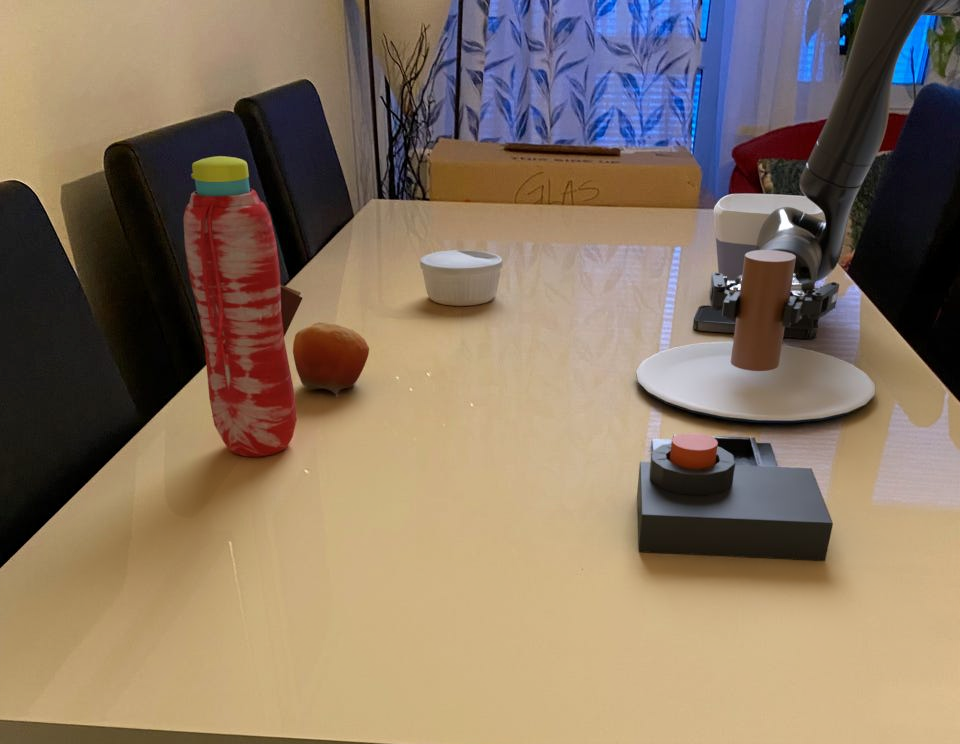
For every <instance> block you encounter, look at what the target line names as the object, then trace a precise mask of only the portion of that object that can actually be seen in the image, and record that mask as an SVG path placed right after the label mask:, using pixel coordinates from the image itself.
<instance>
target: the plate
mask: <svg viewBox="0 0 960 744" xmlns="http://www.w3.org/2000/svg"><path fill="white" fill-rule="evenodd" d="M732 347H733V341H711V342H709V341H708V342H698V343H697V342H696V343H692V344H686V345H680V346H674V347H671V348H668V349H665V350H661V351H659V352H656V353H654V354H652V355H650V356H649V357H647V358H646V359H644V360H643V361H641V362H640V364H639V366H638V367H637V369H636V371H635V375H636V380H637V384H638V385H639V386H640V387H641V388H642V389H643V390H644V391H645V392H646V393H647V394H648V395H649V396H651V397H653V398H656V399H657V400H659V401H661V402H662V403H664V404H666V405H668V406H671V407H674V408H677V409H681V410H682V411H683V410H684V411H686V412H690V413H692V414H697V415H702V416H706V417H711V418H716V419H721V420H728V421H737V422H746V423H747V422H748V423H756V424H757V423H759V424H760V423H761V424H795V423H806V422H807V423H808V422H818V421H824V420H829V419H833V418H837V417H842V416H846V415H848V414H850V413H853V412H855V411H857V410H859V409H861V408H864V407H866V406H867V405H868V403H869V402H870V401H871V400H872V399H873V398H874V397H875V395H876V394H875V390H876V389H875V387H876V386H875V383H874V382H873V380H872V379H871V377H869V375H868V373H866V372H865V371H863V369H862V370H861V368H859V367H857V366H855V365H854V364H852V363H850V362H847V361H845V360H842V359H840V358H837V357H835V356H832V355H830V354H827V353H823V352H819V351H816V350H811V349H809V348H803V347H797V346H790V345H785V344H782V348H781V354H780V360H779V366H778V367H777V368H775V369H773V370H768V371H750V370H744V369H740V368H737V367H735V366H733V365H732V364H731V355H732Z"/></svg>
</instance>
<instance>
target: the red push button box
mask: <svg viewBox="0 0 960 744" xmlns="http://www.w3.org/2000/svg"><path fill="white" fill-rule="evenodd" d="M670 452H671V443H670V444H665V445H661V446H660V447H658V448H657V449H655V450H654V451H652V450H651V453H650V461H639V466H638V467H639V468H638V477H637V479H638V481H637V492H636V507H637V508H636V510H637V513H636V514H637V540H638V541H637V543H638V544H637V545H638V546H637V547H638V552H639V553H655V554H657V553H659V554H675V555H678V554H680V555H696V556H698V555H699V556H719V557H739V558H757V559H758V558H759V559H760V558H761V559H778V560H779V559H781V560H782V559H783V560H801V561H821V562H823V561H826V558H827V554H828V548H829V544H830V540H831V534H832V530H833V526H834V522H833V519H832V518H831V515H830V512H829V510H828V507H827V503H826V502H825V499H824V497H823V494H822V491H821V489H820V487H819V484H818V482H817V479H816V475H815V474H814V472H813V471H814V470H813V468H812V467H792V466H791V467H788V466H778V467H766V466H740V465H735V460H734V456H733V454H731V453H729V452H728V451H726V450H724V449H723V448H721V447H717V455H716V463H715V465H714V466H712V467H707V468H702V469H700V468H686V467H682V466H678V465H675V464H673V463H672V462H670Z"/></svg>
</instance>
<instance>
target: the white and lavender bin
mask: <svg viewBox="0 0 960 744" xmlns="http://www.w3.org/2000/svg"><path fill="white" fill-rule="evenodd" d="M781 207H791V208H795V209H797V210H800V211H802V212H803V214H804V213H807V214H809V215H812V216H814V217H816V218H819V219H821V220H823V221H826V220H825V215H824V213H823V211H822V210H821V209H820V208H819V207H818V206H817V205H816V204H814V203H813V202H812V201H811V200H809V199H808V198H807V197H806V196H805V195H793V194H775V193H774V194H773V193H730V194H727V195H724V196H723V197H721V198H720V199H719V200H717V202H716V203H715V205H714V208H713V211H712V212H713V222H714V223H713V225H714V235H715V246H716V247H715V248H716V259H717V270H718V271H717V272H719V273H721V274H723V277H724V276H726V277H728V279H727V281H735V280H736V278H737V277H738V276H740V275H742V273H743V265H744V258H745V254H746V253H747V252H751V251H756V247H757V240H758V235H759V232H760V230H761V228H762V225H763V223H764V222H765V220H766V219H767V217H768V216H769V215H770V214H771V213H772V212H773V211H775V210H776V209H778V208H781Z"/></svg>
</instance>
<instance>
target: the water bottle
mask: <svg viewBox="0 0 960 744" xmlns="http://www.w3.org/2000/svg"><path fill="white" fill-rule="evenodd" d="M191 169H192V173H191V174H190V176H191V179H193V180H194V183H195V189H196V190H195V191H193V192H192V193H191V194H190V198H189V202H188V204H187V205H186V206H185V210H184V214H183V235H184V249H185V254H186V261H187V268H188V274H189V281H190V284H191V289H192V292H193V296H194V299H195V304H196V308H197V312H198V315H199V321H200V327H201V333H202V339H203V344H204V352H205V364H206V377H207V387H208V396H209V397H208V398H209V404H210V409H211V414H212V420H213V425H214V427H215V429H216V431H217V433H218V435H219V436H220V438H221V440H222V442H223V443H224V445H225V446H226V448H227V449H228V450H229V451H230V452H231V453H232V454H236V455H238V456H243V457H251V458H254V457H255V458H259V457H260V458H261V457H265V456H272V455H275V454H277V453H279V452H281V451H283V450H285V449H287V448H288V446H289V444H290V443H291V440H292V439H293V436H294V434H295V433H294V432H295V428H296V424H297V420H298V417H297V407H296V395H295V389H294V384H293V378H292V374H291V373H292V372H291V368H290V361H289V357H288V352H287V347H286V341H285V336H286V335H287V332H288V330H289V328H290V326H291V324H292V322H293V319H294V318H295V315H296V313H297V311H298V309H299V307H300V305H301V303H302V301H303V297H302V296H300V295H301V291H298V290H296V289H293V288H290V287H288V286H285V285H283V284H281V270H280V261H279V254H278V245H277V239H276V235H275V231H274V226H273V222H272V217H271V213H270V211H269V210H268V208H267V206H266V204H265V202H264V201H262V200H261V199H260V197H259V194H258V193H257V191H256V190H254V189H253V188H250V187H251V186H250V180H249V177H250V174H249V173H250V172H249V166H248V163H247V161H246V160H244V159H242V158H238V157H232V156H223V155H217V156H211V157H210V156H209V157H206V158H201V159H199V160H196V161H194V162H192V165H191Z"/></svg>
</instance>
